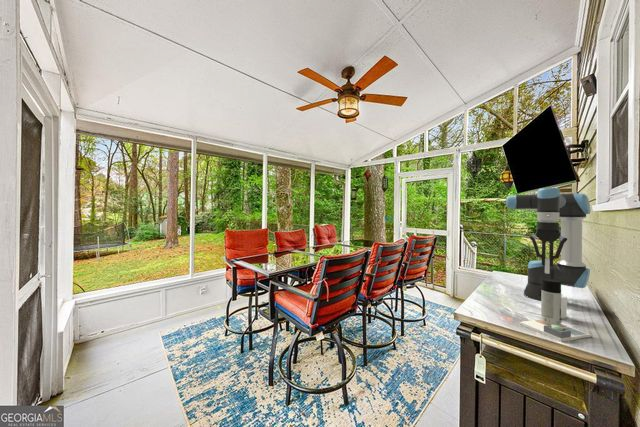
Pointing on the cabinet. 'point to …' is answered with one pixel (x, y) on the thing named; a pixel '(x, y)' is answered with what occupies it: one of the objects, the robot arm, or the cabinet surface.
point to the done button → (557, 327)
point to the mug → (563, 306)
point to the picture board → (546, 329)
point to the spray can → (551, 302)
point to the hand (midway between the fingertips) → (547, 272)
